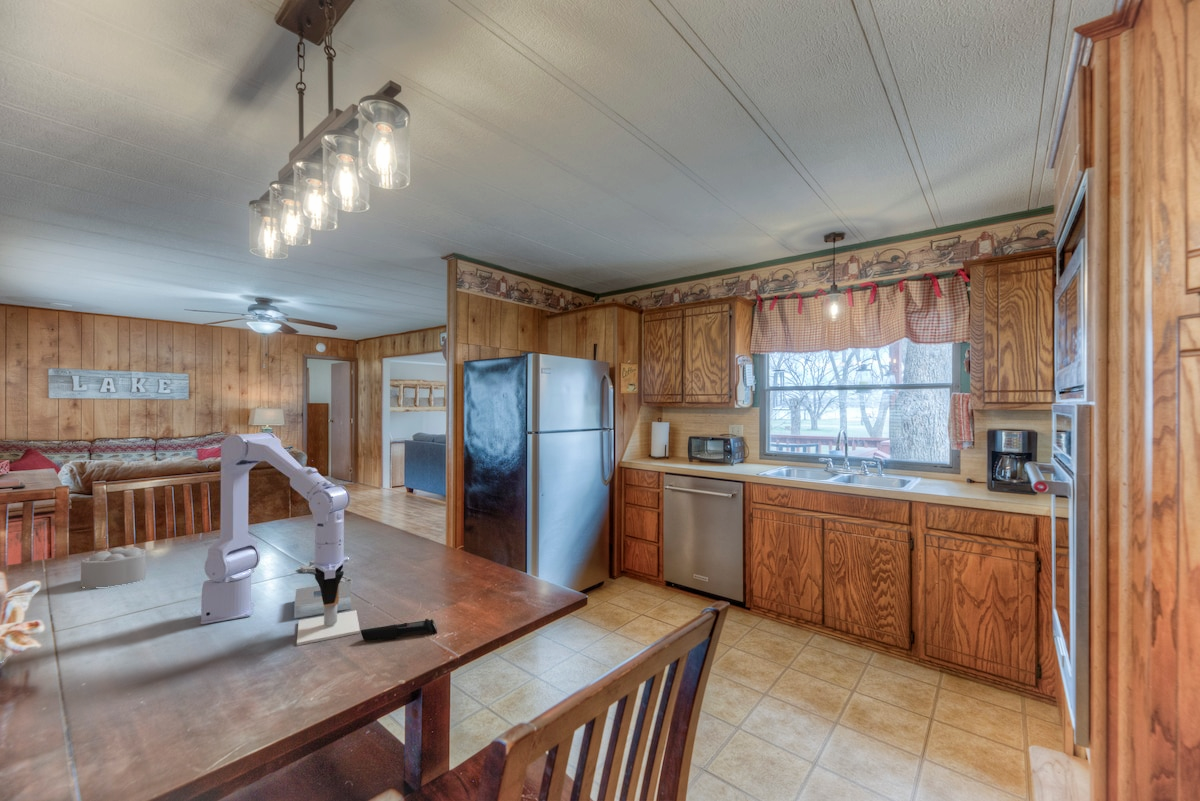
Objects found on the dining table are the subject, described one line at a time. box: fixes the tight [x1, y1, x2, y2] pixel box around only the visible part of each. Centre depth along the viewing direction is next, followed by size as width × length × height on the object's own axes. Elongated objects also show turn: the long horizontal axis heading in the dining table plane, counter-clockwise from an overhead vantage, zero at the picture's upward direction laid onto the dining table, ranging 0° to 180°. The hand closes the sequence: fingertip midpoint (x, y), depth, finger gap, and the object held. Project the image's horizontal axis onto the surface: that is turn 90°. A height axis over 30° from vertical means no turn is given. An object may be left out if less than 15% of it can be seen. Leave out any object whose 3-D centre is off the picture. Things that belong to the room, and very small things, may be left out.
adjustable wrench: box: [300, 560, 353, 586], centre depth 146 cm, size 25×6×2 cm, turn 50°
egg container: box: [80, 546, 147, 588], centre depth 140 cm, size 10×13×9 cm
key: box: [323, 585, 339, 625], centre depth 113 cm, size 3×3×8 cm
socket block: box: [293, 581, 352, 620], centre depth 126 cm, size 12×12×3 cm
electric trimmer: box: [360, 618, 438, 642], centre depth 110 cm, size 4×16×3 cm, turn 110°
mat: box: [296, 609, 361, 647], centre depth 113 cm, size 12×12×1 cm
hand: (328, 600), depth 113 cm, fingers closed on key, 3 cm apart
